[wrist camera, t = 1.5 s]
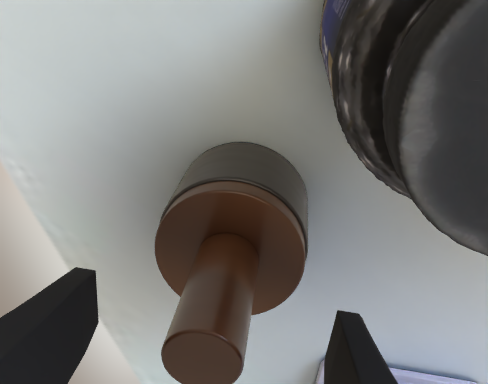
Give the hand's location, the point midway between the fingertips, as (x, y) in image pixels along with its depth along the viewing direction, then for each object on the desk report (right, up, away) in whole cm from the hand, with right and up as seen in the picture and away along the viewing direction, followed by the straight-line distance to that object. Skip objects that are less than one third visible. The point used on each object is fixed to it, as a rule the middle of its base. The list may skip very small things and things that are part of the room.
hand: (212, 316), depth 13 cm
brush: (+1, +3, +6) cm, 7 cm away
